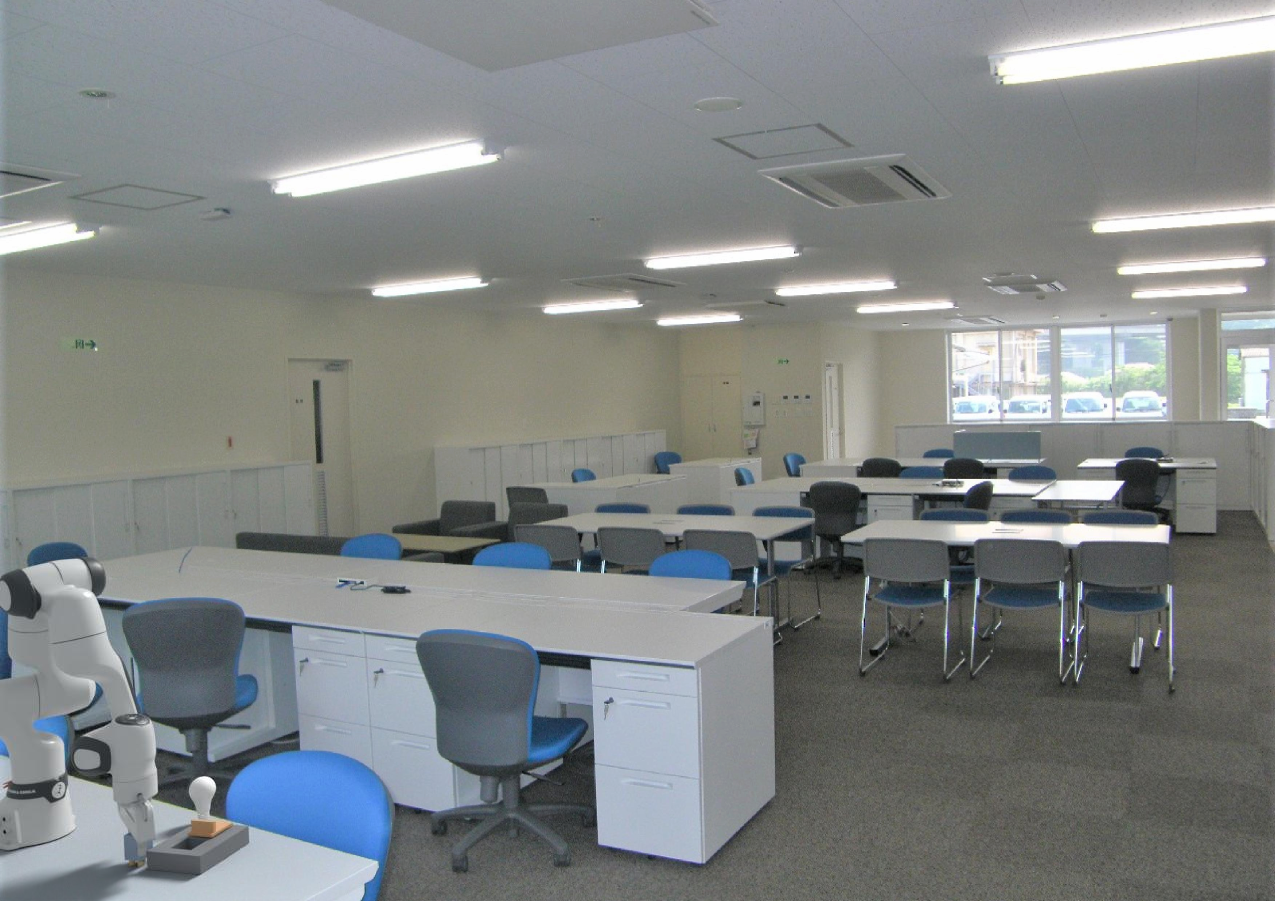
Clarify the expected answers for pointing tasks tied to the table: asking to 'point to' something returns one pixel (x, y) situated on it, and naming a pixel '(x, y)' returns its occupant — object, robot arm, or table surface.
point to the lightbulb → (202, 795)
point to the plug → (134, 850)
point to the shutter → (207, 827)
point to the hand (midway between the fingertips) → (138, 849)
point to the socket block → (196, 850)
